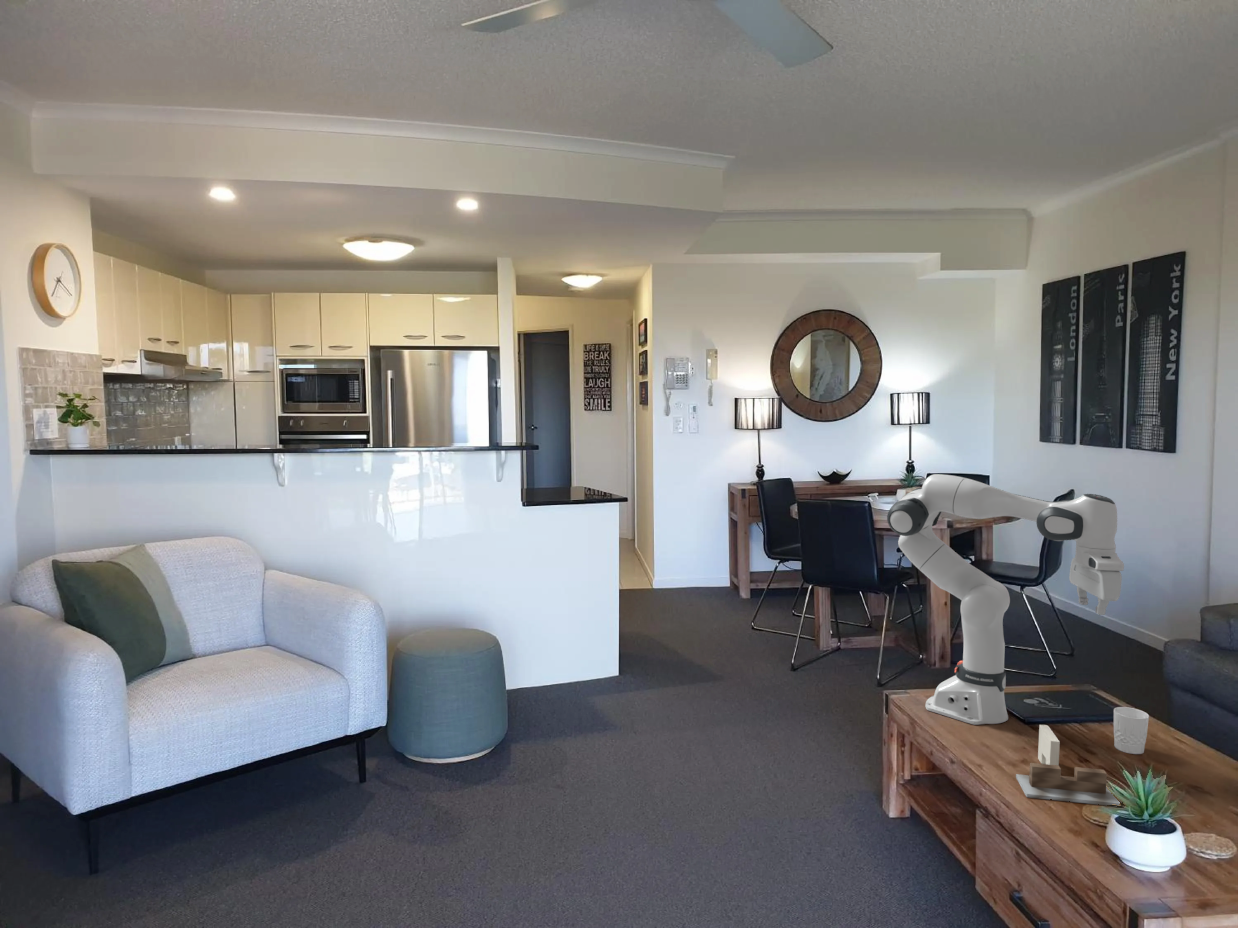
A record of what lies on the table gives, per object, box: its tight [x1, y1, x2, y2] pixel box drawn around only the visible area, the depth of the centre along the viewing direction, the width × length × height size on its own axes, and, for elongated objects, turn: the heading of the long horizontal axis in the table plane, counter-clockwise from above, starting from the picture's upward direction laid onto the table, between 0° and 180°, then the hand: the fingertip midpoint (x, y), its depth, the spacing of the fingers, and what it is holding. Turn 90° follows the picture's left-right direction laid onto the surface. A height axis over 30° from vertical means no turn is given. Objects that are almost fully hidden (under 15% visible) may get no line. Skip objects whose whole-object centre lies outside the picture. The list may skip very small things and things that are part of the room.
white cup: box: [1113, 706, 1150, 755], centre depth 212 cm, size 8×8×10 cm
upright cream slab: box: [1037, 724, 1061, 766], centre depth 202 cm, size 10×2×9 cm, turn 167°
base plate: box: [1015, 762, 1121, 806], centre depth 190 cm, size 20×10×6 cm, turn 77°
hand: (1091, 609), depth 208 cm, fingers open, 8 cm apart
